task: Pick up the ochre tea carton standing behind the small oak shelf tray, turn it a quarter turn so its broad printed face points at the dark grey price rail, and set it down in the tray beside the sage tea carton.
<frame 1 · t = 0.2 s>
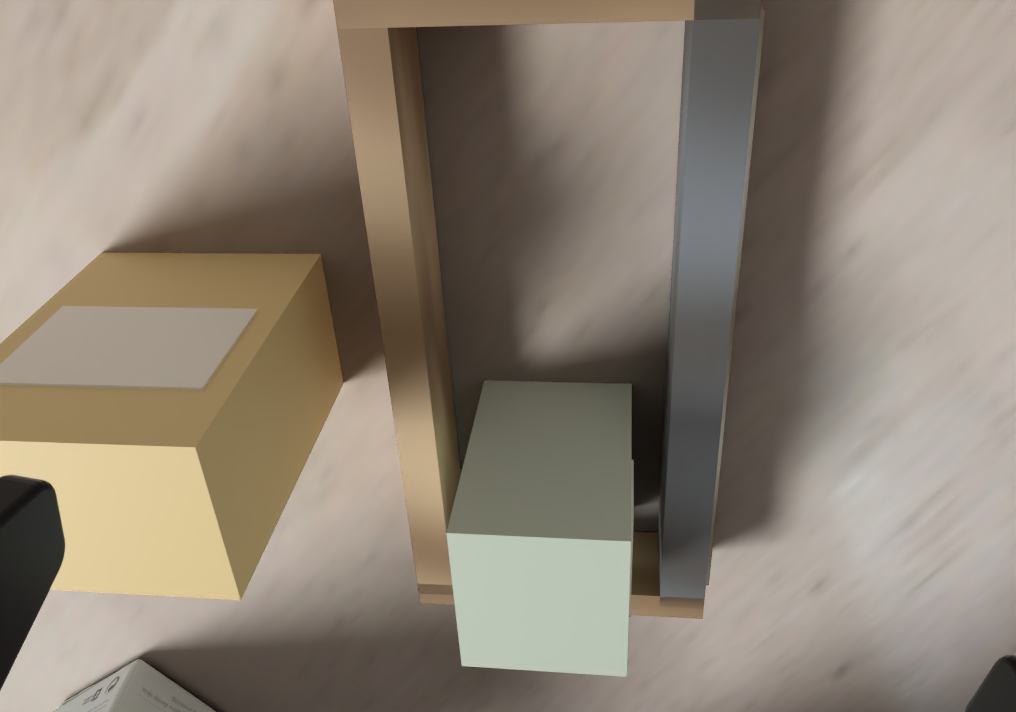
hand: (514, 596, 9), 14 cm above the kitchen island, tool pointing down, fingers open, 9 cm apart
sage carton: (558, 445, 26), resting in shelf tray
shelf tray: (555, 309, 23), on the kitchen island
ochre carton: (226, 319, 25), on the kitchen island
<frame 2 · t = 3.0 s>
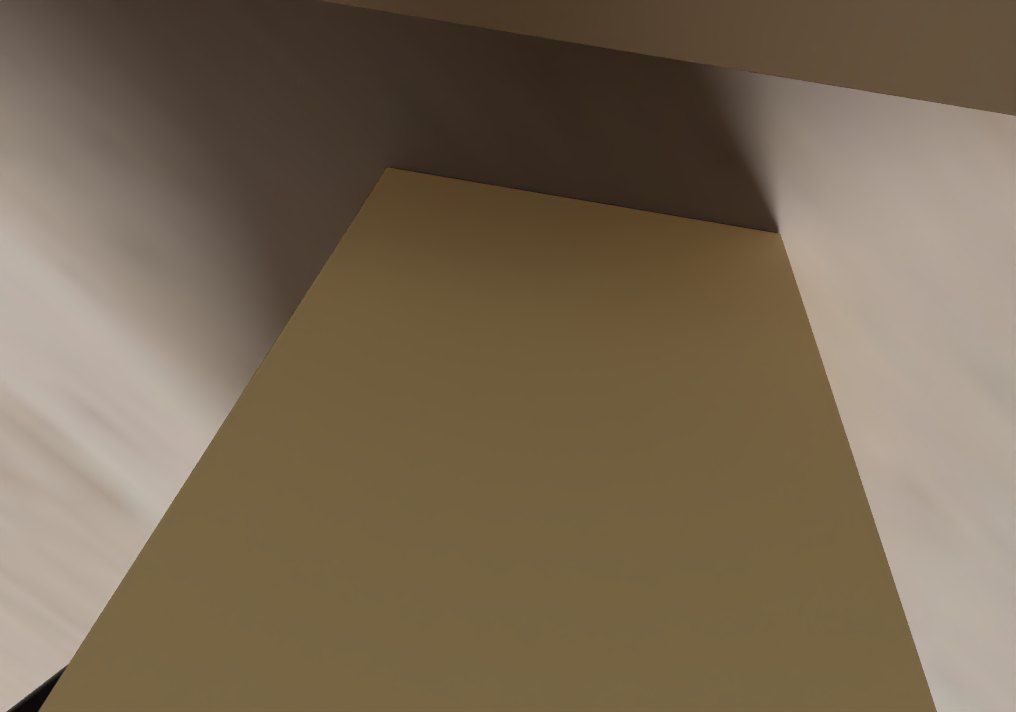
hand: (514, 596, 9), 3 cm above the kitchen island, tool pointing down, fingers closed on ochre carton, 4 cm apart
ochre carton: (538, 434, 11), on the kitchen island, touching gripper
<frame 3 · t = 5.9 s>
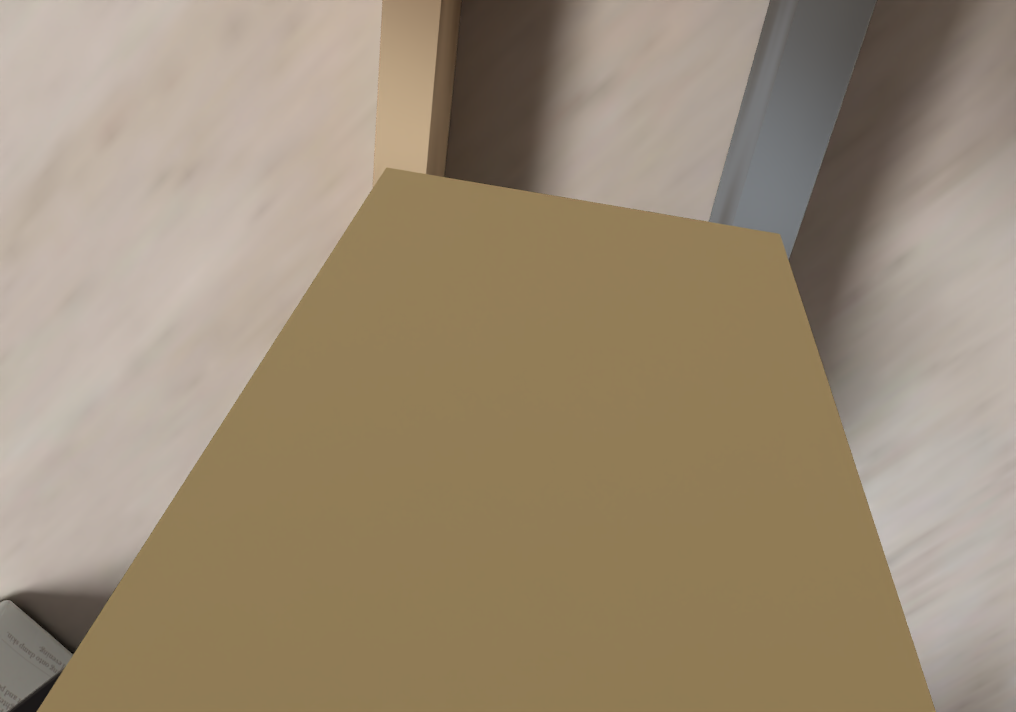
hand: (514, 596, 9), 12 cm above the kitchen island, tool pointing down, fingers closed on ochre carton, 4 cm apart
skincare box 2: (51, 684, 32), on the kitchen island
shelf tray: (561, 274, 21), on the kitchen island
ochre carton: (537, 434, 11), point 10 cm above the kitchen island, touching gripper
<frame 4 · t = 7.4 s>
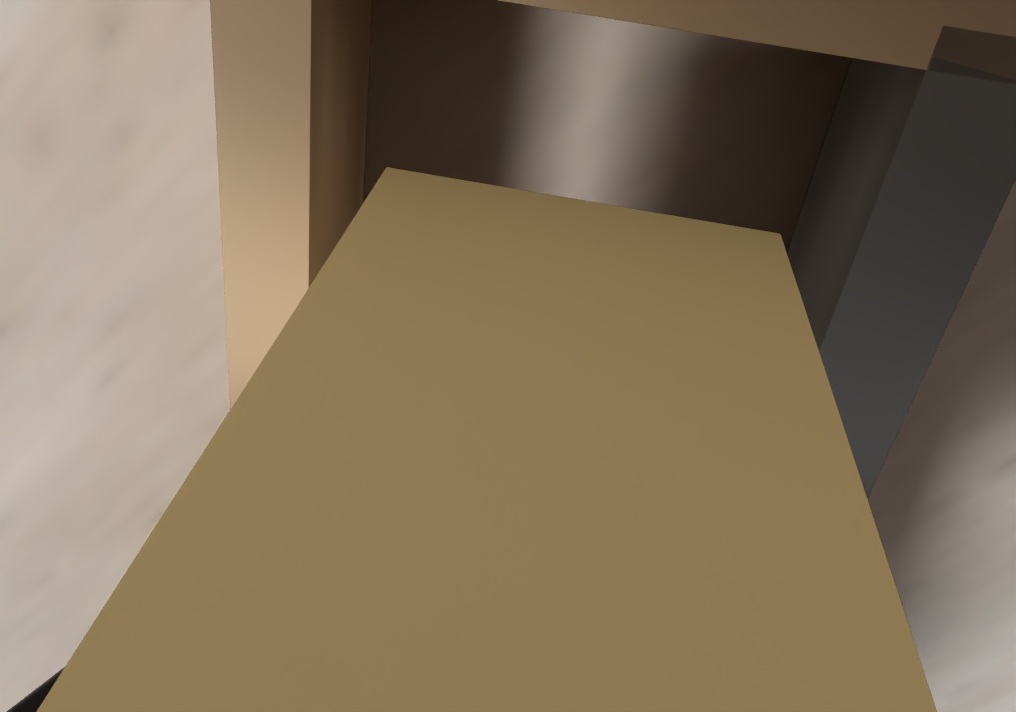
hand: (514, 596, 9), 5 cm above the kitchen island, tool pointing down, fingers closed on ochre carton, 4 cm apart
shelf tray: (527, 468, 15), on the kitchen island
ochre carton: (538, 434, 11), point 3 cm above the kitchen island, touching gripper
when the fingers open (3 cm above the kitchen island, at t = 8.7 s): ochre carton stays where it is, resting in shelf tray.
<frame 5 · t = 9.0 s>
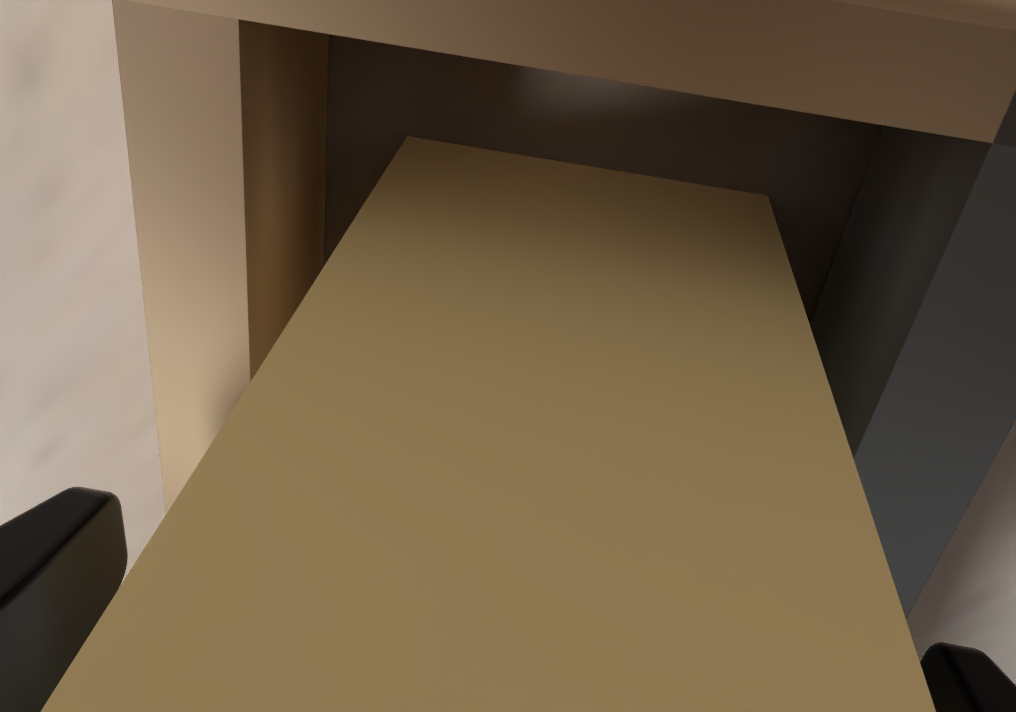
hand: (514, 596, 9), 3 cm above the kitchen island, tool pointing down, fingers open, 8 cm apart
shelf tray: (514, 554, 13), on the kitchen island
ochre carton: (545, 386, 12), resting in shelf tray
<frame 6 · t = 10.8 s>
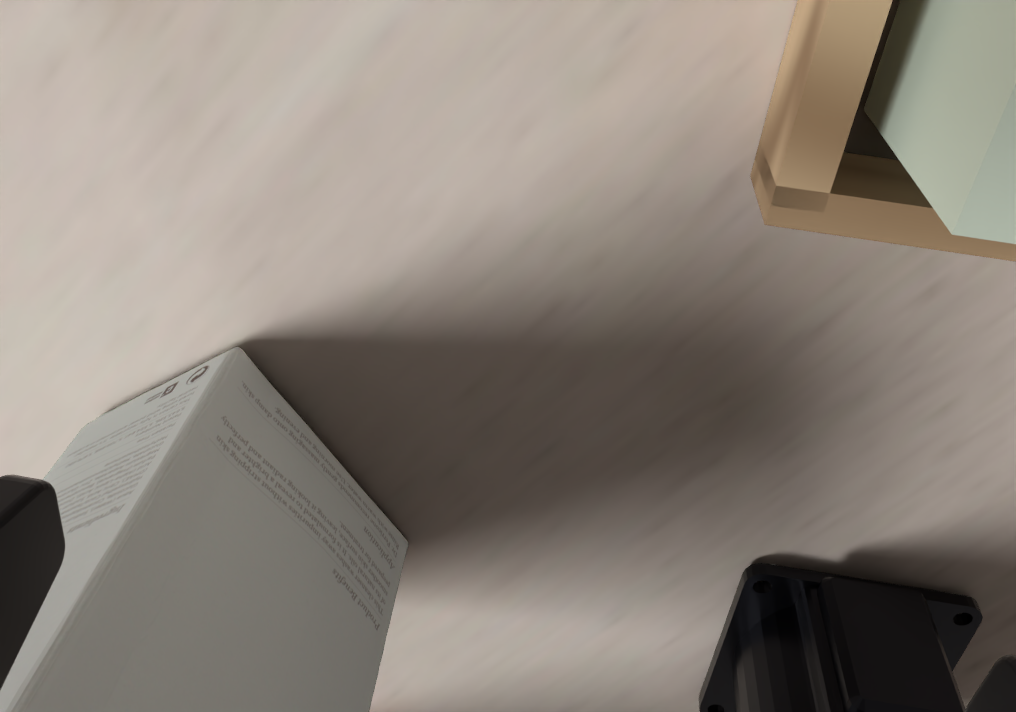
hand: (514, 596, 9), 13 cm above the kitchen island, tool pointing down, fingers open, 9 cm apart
sage carton: (1007, 11, 17), resting in shelf tray
skincare box 2: (267, 479, 26), on the kitchen island
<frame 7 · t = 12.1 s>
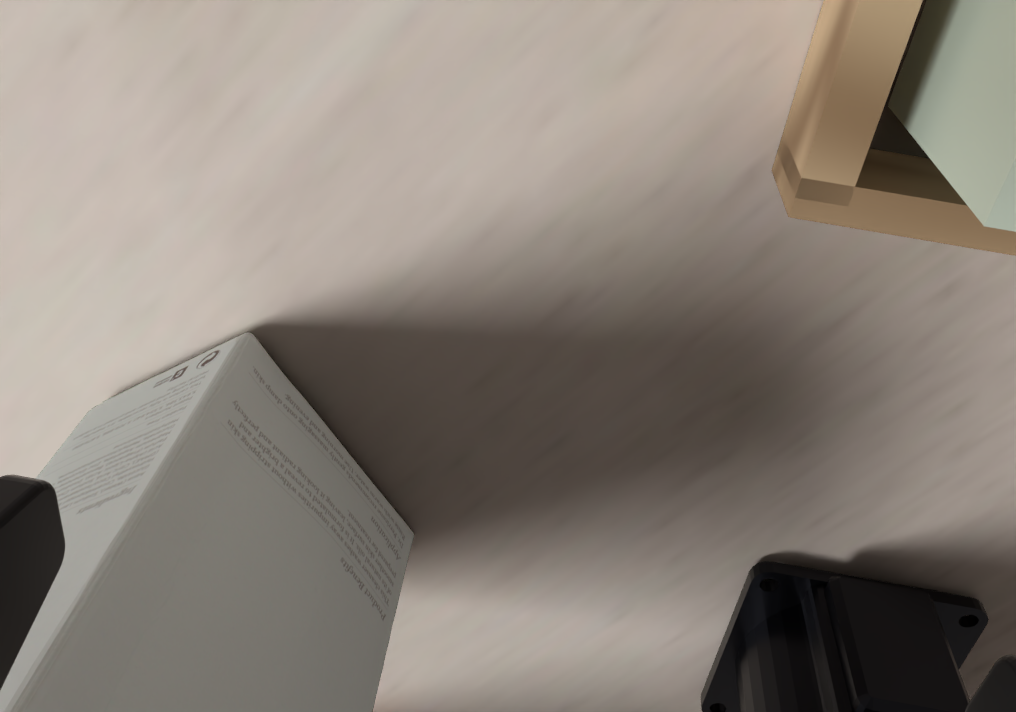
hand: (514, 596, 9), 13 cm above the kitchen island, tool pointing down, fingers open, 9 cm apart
skincare box 2: (273, 467, 26), on the kitchen island
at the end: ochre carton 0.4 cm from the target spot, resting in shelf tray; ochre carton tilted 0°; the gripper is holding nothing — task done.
